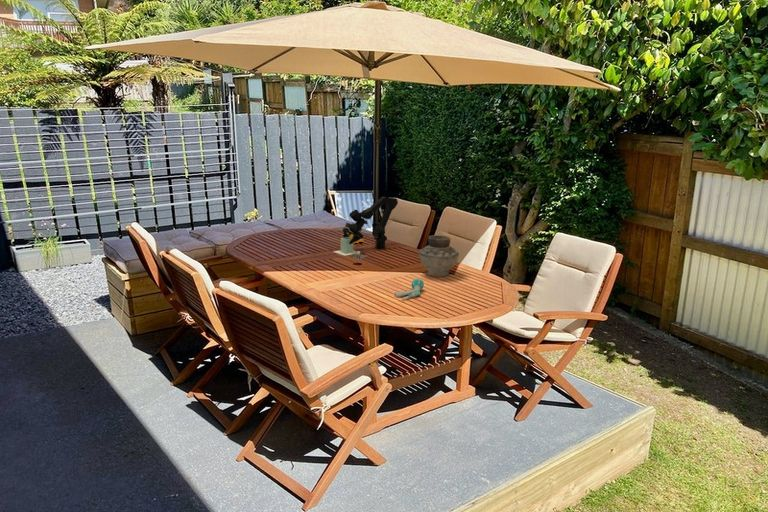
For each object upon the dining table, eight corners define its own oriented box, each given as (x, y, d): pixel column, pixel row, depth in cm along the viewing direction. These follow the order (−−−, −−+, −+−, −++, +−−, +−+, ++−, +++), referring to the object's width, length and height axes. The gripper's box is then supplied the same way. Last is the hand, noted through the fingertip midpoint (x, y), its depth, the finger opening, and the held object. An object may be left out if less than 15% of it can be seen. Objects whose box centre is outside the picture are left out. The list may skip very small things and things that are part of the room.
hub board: (349, 250, 428) (349, 244, 427) (360, 254, 417) (360, 247, 416) (333, 253, 419) (333, 246, 418) (344, 257, 409) (344, 250, 408)
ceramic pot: (435, 266, 390) (437, 231, 384) (465, 274, 373) (467, 237, 367) (410, 273, 373) (410, 236, 367) (440, 282, 356) (441, 243, 350)
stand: (355, 255, 414) (355, 248, 413) (368, 257, 410) (368, 250, 409) (348, 259, 405) (348, 252, 404) (361, 260, 401) (361, 253, 400)
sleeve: (347, 250, 422) (347, 236, 420) (353, 252, 418) (353, 238, 415) (340, 251, 418) (340, 238, 416) (345, 253, 414) (345, 239, 411)
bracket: (364, 243, 451) (364, 228, 448) (356, 244, 447) (356, 229, 444) (355, 240, 460) (355, 225, 457) (348, 241, 455) (348, 226, 452)
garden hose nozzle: (400, 294, 321) (433, 287, 327) (389, 282, 336) (421, 276, 342) (401, 306, 323) (434, 299, 329) (389, 294, 339) (421, 287, 345)
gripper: (344, 216, 422) (331, 233, 418) (359, 220, 408) (346, 238, 404) (353, 225, 429) (340, 242, 425) (368, 230, 414) (356, 247, 411)
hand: (345, 242), depth 416 cm, fingers open, 9 cm apart
